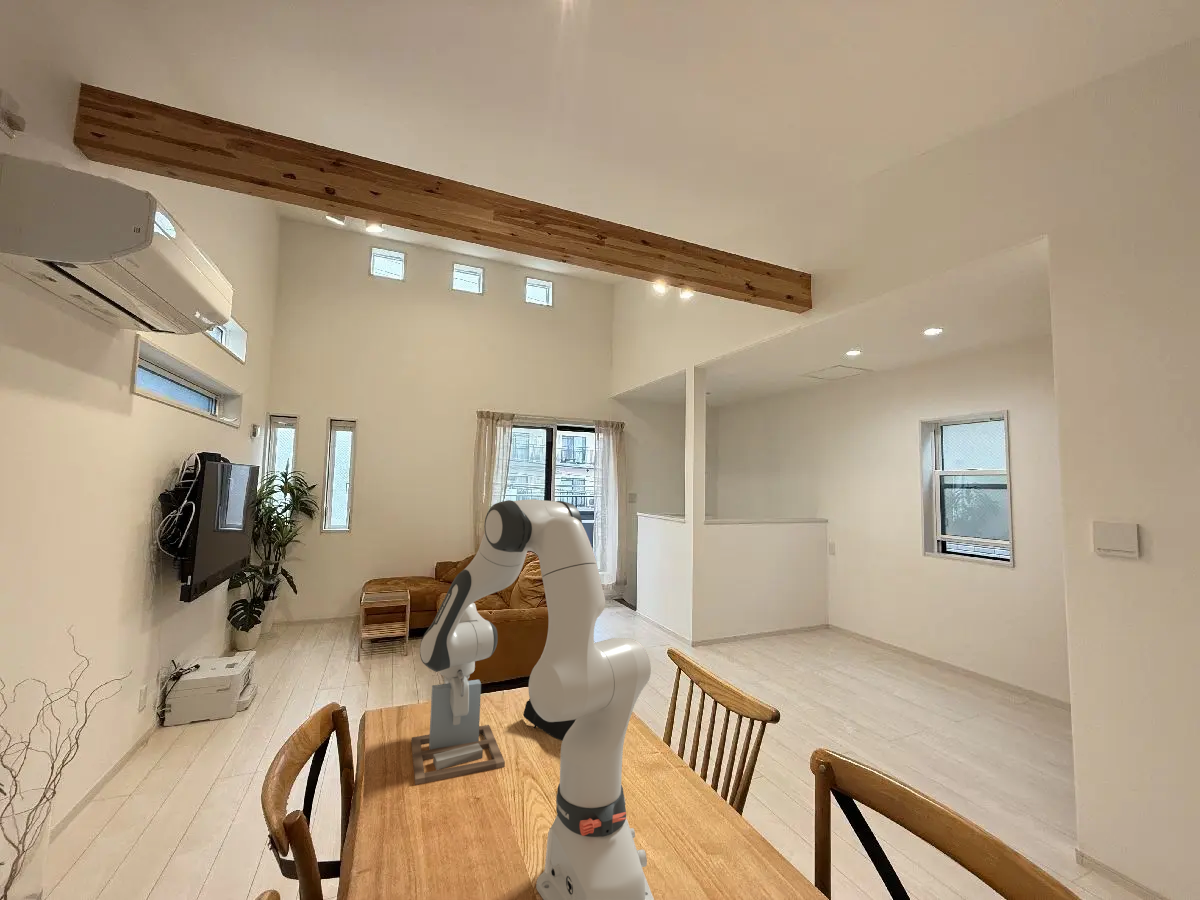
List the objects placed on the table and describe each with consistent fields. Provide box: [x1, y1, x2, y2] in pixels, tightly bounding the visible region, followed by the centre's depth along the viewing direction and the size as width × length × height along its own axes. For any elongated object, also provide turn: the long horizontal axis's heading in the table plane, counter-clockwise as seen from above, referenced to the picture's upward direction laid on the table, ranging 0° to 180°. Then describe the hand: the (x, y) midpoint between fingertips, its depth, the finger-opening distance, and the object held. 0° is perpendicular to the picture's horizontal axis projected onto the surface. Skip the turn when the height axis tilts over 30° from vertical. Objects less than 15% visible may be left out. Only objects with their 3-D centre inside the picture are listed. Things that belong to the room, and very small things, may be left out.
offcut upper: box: [432, 743, 484, 771], centre depth 118 cm, size 4×11×2 cm, turn 122°
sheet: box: [428, 679, 482, 750], centre depth 126 cm, size 3×12×15 cm, turn 113°
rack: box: [410, 724, 506, 786], centre depth 121 cm, size 20×20×2 cm
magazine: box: [522, 698, 576, 742], centre depth 132 cm, size 17×3×30 cm
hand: (455, 719), depth 126 cm, fingers closed on sheet, 3 cm apart
